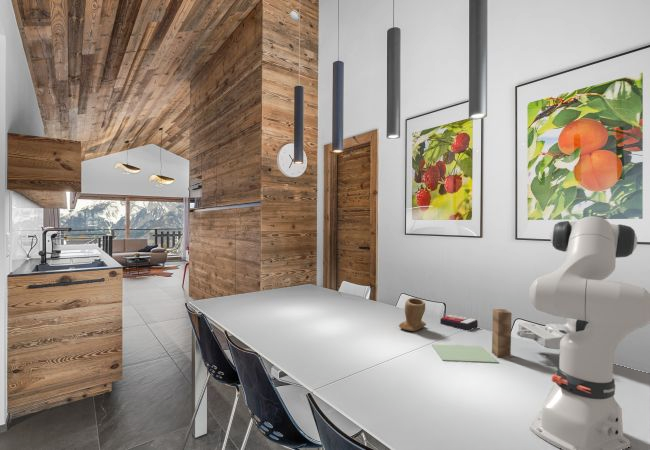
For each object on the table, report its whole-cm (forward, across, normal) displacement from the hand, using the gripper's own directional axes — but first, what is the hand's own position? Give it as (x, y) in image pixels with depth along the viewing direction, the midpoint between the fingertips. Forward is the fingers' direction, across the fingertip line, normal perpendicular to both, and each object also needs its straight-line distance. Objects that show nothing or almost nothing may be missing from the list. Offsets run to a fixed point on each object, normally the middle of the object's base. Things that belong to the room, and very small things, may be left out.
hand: (518, 333), depth 133 cm
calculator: (+11, -38, +9) cm, 41 cm away
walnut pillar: (+7, 0, +9) cm, 11 cm away
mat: (+22, 0, +9) cm, 23 cm away
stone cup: (+35, -30, +9) cm, 47 cm away
